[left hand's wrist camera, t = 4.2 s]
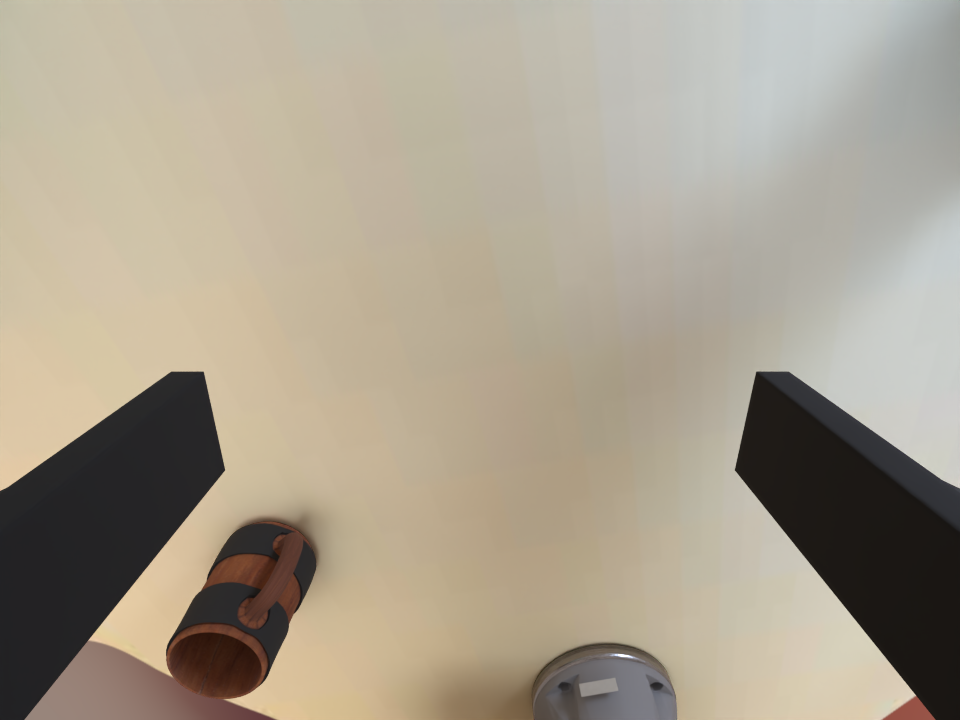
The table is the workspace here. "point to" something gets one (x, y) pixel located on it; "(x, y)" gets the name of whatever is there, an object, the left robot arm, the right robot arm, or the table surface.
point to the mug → (242, 611)
